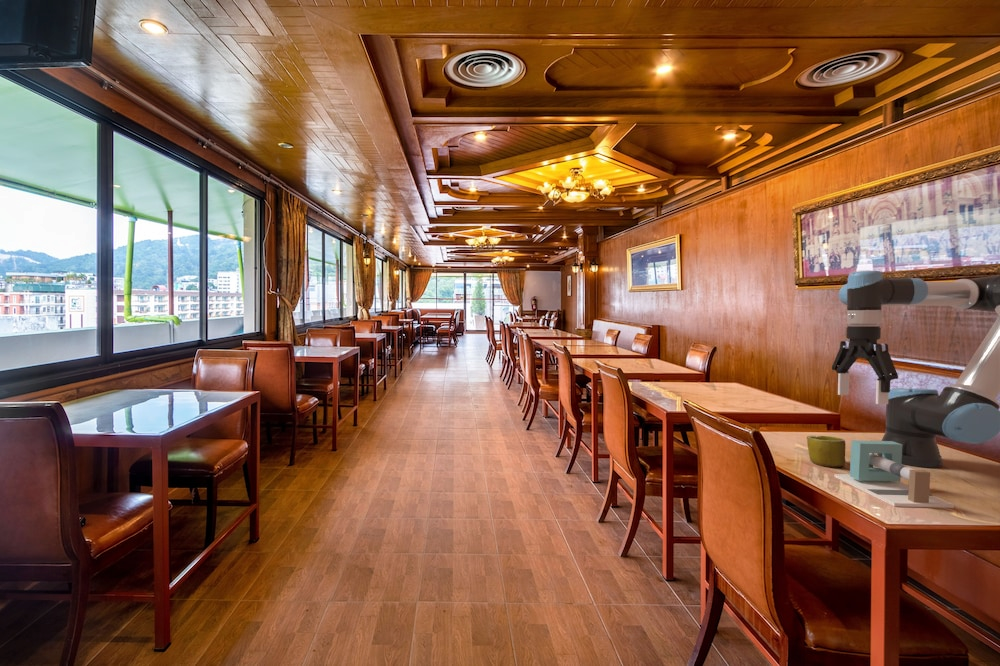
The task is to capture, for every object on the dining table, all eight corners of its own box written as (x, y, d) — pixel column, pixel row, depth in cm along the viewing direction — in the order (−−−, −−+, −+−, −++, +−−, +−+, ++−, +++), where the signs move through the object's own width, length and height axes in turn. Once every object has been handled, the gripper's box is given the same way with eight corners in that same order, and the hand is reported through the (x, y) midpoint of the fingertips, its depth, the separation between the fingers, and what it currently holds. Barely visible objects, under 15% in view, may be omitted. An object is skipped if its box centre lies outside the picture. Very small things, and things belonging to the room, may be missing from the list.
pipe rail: (834, 476, 122) (835, 448, 122) (884, 478, 122) (886, 449, 121) (894, 506, 103) (896, 472, 103) (954, 507, 103) (956, 474, 102)
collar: (849, 476, 118) (851, 440, 118) (890, 477, 118) (892, 441, 118) (858, 480, 115) (860, 443, 115) (900, 481, 115) (902, 444, 115)
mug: (861, 465, 126) (846, 431, 128) (823, 473, 128) (809, 439, 130) (840, 460, 138) (827, 429, 140) (805, 467, 140) (793, 437, 142)
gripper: (818, 324, 136) (817, 391, 136) (888, 326, 111) (886, 408, 112) (843, 324, 135) (841, 391, 136) (918, 326, 110) (915, 408, 111)
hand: (861, 399), depth 124 cm, fingers open, 13 cm apart
